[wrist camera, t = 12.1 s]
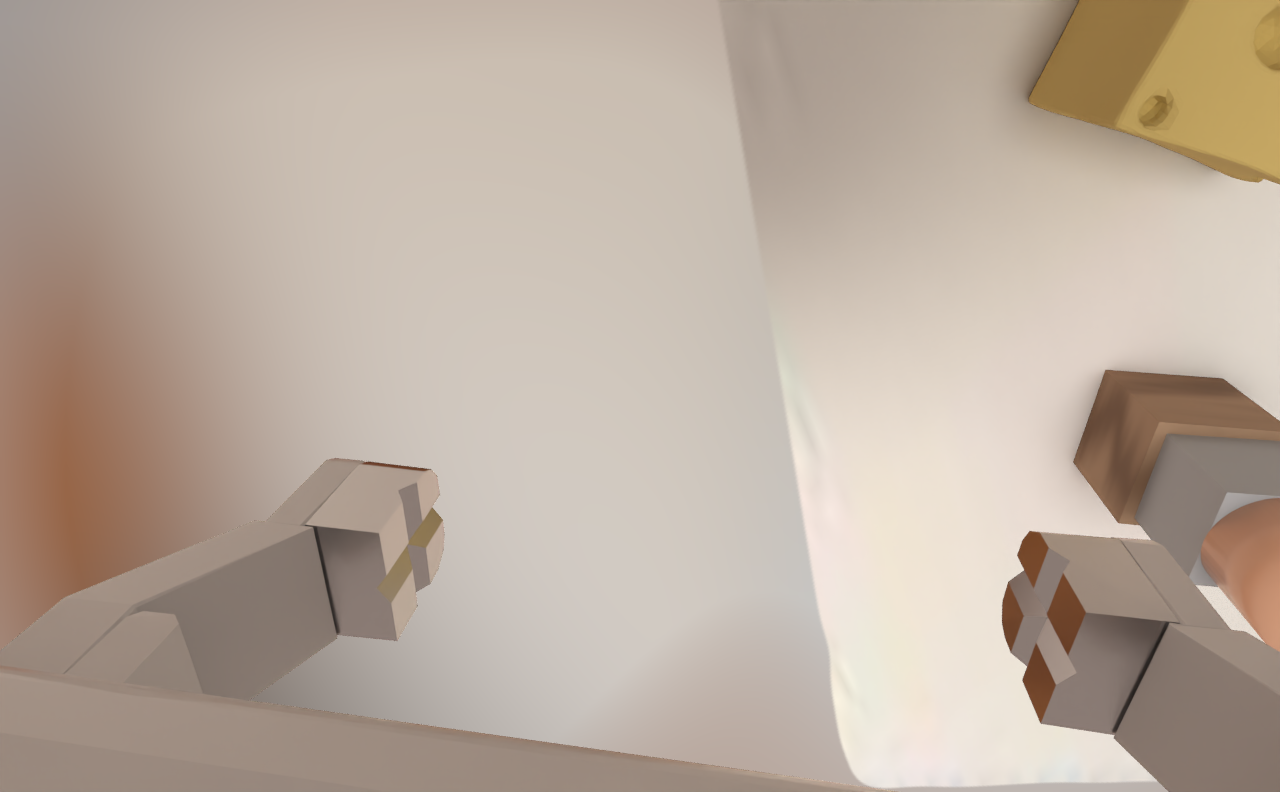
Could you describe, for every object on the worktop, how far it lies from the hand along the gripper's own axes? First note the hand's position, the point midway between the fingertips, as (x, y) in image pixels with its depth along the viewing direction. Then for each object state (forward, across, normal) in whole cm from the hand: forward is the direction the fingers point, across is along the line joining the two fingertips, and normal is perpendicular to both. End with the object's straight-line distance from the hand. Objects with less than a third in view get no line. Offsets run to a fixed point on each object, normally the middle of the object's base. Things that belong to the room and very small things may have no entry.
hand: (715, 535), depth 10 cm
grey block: (+25, -24, +13) cm, 37 cm away
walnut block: (+31, -24, +13) cm, 41 cm away
